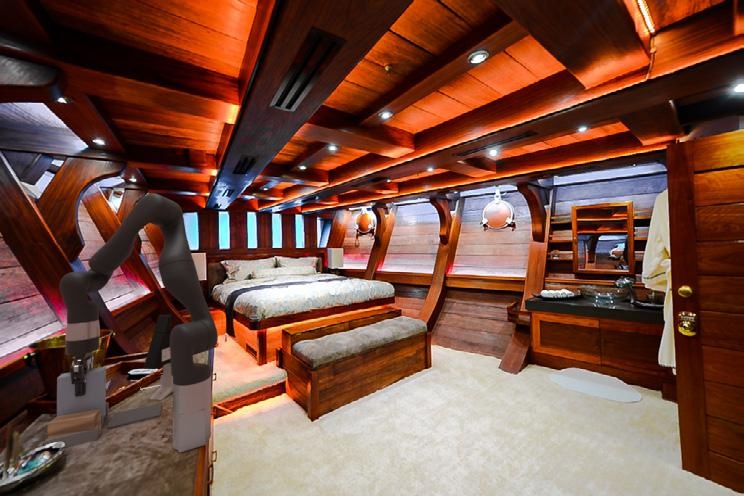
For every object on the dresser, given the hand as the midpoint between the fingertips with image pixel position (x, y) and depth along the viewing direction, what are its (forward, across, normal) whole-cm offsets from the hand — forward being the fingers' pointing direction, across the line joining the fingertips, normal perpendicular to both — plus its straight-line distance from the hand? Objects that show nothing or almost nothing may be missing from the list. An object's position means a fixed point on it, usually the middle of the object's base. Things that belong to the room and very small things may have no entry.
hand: (82, 392), depth 90 cm
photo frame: (+12, +31, -20) cm, 38 cm away
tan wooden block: (+11, -3, 0) cm, 11 cm away
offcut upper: (+8, -6, 0) cm, 10 cm away
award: (+11, +15, -20) cm, 28 cm away
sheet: (+9, 0, 0) cm, 9 cm away
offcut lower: (+11, -6, 0) cm, 13 cm away
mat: (+11, 0, -13) cm, 17 cm away
